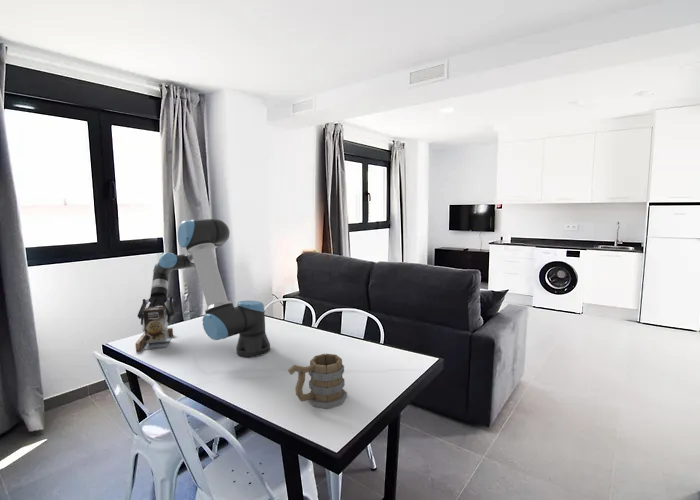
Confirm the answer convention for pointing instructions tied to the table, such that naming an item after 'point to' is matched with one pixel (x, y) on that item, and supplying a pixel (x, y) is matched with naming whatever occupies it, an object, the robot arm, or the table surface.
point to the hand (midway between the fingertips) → (154, 329)
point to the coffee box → (155, 324)
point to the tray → (153, 345)
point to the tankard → (322, 381)
